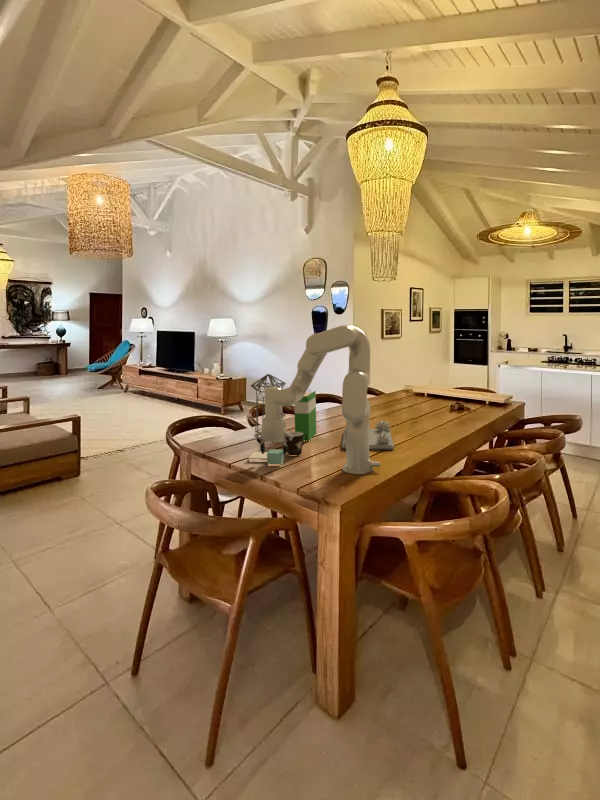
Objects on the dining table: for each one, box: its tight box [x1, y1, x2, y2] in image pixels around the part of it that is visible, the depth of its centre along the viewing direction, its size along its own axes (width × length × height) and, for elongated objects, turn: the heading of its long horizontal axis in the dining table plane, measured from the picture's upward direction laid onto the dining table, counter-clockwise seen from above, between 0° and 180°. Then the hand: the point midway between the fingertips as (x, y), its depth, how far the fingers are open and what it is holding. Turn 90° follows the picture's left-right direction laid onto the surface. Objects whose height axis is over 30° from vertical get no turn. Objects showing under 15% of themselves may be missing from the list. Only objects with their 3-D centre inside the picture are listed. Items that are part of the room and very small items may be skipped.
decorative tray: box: [341, 419, 395, 451], centre depth 234 cm, size 35×26×10 cm
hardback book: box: [293, 390, 317, 441], centre depth 243 cm, size 18×7×24 cm, turn 166°
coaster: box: [248, 451, 269, 460], centre depth 207 cm, size 10×10×2 cm
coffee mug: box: [285, 431, 307, 455], centre depth 213 cm, size 12×9×10 cm
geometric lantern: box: [250, 373, 287, 438], centre depth 242 cm, size 16×16×35 cm
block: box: [266, 448, 285, 465], centre depth 199 cm, size 6×6×6 cm
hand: (274, 453), depth 199 cm, fingers open, 9 cm apart
